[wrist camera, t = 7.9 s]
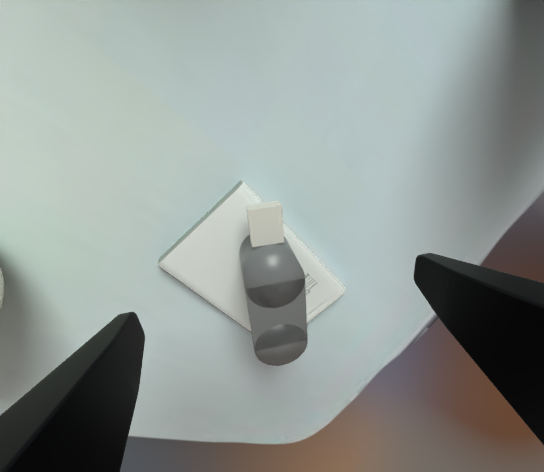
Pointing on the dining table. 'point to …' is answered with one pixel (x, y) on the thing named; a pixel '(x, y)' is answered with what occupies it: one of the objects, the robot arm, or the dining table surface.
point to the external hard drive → (238, 259)
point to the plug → (273, 287)
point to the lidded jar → (1, 287)
